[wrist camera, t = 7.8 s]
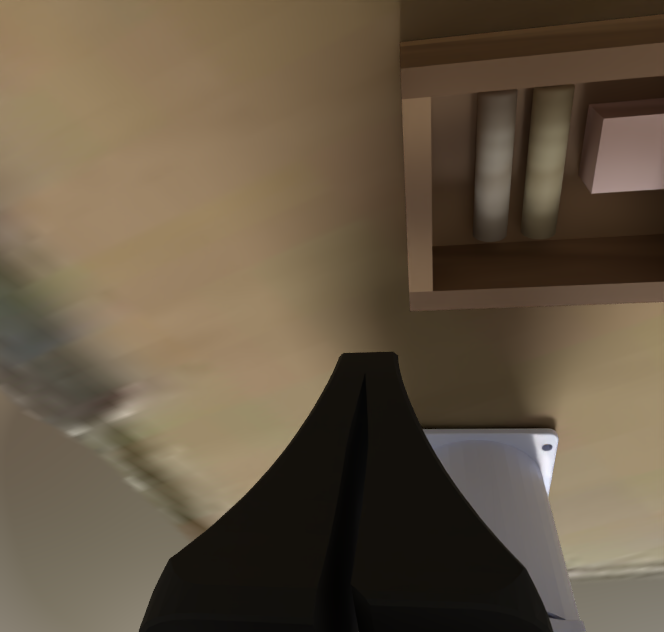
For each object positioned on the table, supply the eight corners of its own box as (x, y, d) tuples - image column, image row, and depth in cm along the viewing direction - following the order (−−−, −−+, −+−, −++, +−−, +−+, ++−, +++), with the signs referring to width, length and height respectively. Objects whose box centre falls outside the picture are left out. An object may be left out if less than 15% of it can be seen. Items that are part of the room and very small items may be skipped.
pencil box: (844, 233, 20) (929, 292, 17) (408, 255, 23) (409, 311, 19) (961, -18, 16) (1105, -2, 13) (399, 41, 18) (400, 68, 15)
